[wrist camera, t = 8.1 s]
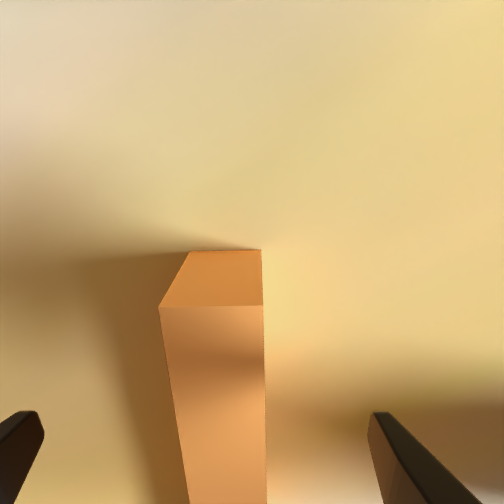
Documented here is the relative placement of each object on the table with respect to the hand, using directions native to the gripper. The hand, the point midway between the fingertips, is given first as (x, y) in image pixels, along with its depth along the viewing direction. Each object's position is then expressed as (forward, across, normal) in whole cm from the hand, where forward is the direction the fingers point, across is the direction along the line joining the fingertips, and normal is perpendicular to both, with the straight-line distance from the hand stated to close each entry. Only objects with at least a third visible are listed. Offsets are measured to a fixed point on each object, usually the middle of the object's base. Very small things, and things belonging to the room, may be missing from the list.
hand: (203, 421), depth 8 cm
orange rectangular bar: (+7, 0, +8) cm, 10 cm away
